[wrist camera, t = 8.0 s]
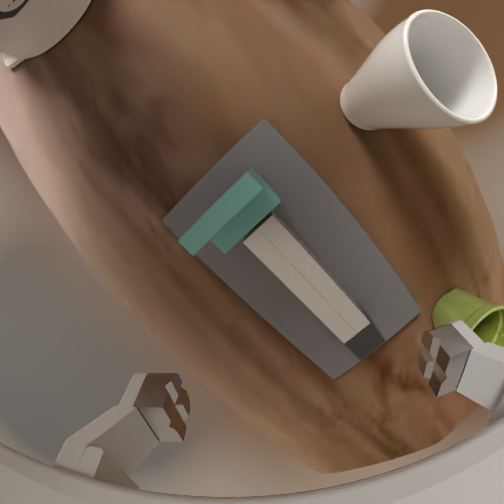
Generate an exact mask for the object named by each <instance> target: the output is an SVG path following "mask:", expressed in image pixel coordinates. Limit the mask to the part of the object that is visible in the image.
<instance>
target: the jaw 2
mask: <svg viewBox="0 0 504 504" xmlns="http://www.w3.org/2000/svg"><path fill="white" fill-rule="evenodd" d="M258 230H259V231H260V232H261V233H262V234H263V235H264V236H265V237H266V238H267V239H268V240H269V241H270V242H271V243H272V244H273V245H274V246H275V247H276V248H277V249H278V250H279V251H280V252H281V254H282V255H283V256H284V257H285V258H286V259H287V260H288V261H289V262H290V263H291V264H292V265H293V266H294V267H295V268H296V269H297V270H298V271H299V272H300V273H301V274H302V275H303V276H304V277H305V278H306V280H307V281H308V282H309V283H310V284H311V285H312V286H313V287H314V288H315V289H316V290H317V291H318V292H319V293H320V294H321V295H322V296H323V297H324V298H325V300H326V301H327V302H328V303H329V304H330V305H331V306H332V307H333V308H334V309H335V310H336V311H337V312H338V313H339V314H340V315H341V317H342V318H343V319H344V320H345V321H346V322H347V323H348V324H349V325H350V326H351V327H352V328H353V329H354V330H355V332H356V333H357V334H358V335H359V336H360V337H361V338H362V339H363V340H364V341H365V342H366V344H367V345H368V346H369V347H370V348H371V349H372V350H375V349H376V348H377V347H379V346H380V345H381V344H382V343H384V342H385V339H384V338H383V336H382V334H381V333H380V331H379V330H378V328H377V326H376V325H375V323H374V322H373V320H372V319H371V318H370V317H369V315H368V314H367V313H366V312H365V311H364V309H363V308H362V307H361V306H360V305H359V304H358V303H357V301H356V300H355V299H354V298H353V297H352V296H351V295H350V293H349V292H348V291H347V290H346V289H345V288H344V287H343V285H342V284H341V283H340V282H339V281H338V280H337V279H336V277H335V276H334V275H333V274H332V273H331V272H330V271H329V270H328V268H327V267H326V266H325V265H324V264H323V263H322V262H321V261H320V260H319V258H318V257H317V256H316V255H315V254H314V253H313V252H312V251H311V250H310V249H309V247H308V246H307V245H306V244H305V243H304V242H303V241H302V240H301V239H300V238H299V237H298V236H297V234H296V233H295V232H294V231H293V230H292V229H291V228H290V227H289V226H288V225H287V224H286V223H285V222H284V221H283V220H282V218H281V217H280V216H279V215H278V214H277V213H276V212H275V211H274V210H272V211H270V212H269V213H268V214H267V215H266V216H265V217H264V218H263V219H262V220H261V221H260V222H259V223H258Z"/></svg>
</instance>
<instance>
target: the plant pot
mask: <svg viewBox="0 0 504 504" xmlns="http://www.w3.org/2000/svg"><path fill="white" fill-rule="evenodd" d="M432 320H433V326H434V328H437V327H440V326H443V325H446V324H448V323H450V322H453V321H456V320H462V321H463V322H464V323H465V324H466V325H467V326H468V327H469V328H470V329H471V330H472V331H473V332H474V333H475V334H476V335H477V336H478V337H479V338H480V339H481V340H482V341H483V342H484V343H487V342H489V343H492V344H496V345H499V346H502V347H504V305H496V304H490V303H488V302H486V301H484V300H482V299H480V298H478V297H476V296H474V295H472V294H470V293H468V292H466V291H464V290H462V289H458V288H456V289H453V290H452V291H450V292H449V293H446V294H444V295H443V296H442V297H441V298H440V299H439V301H438V302H437V304H436V306H435V308H434V310H433V313H432Z"/></svg>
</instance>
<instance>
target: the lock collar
mask: <svg viewBox="0 0 504 504" xmlns="http://www.w3.org/2000/svg"><path fill="white" fill-rule="evenodd" d="M280 202H281V201H280V198H279V196H278V194H277V193H276V192H275V191H274V190H273V188H272V187H271V186H270V185H269V184H268V183H267V182H266V181H265V180H264V179H263V178H262V177H261V176H260V175H259V174H258V173H257V172H256V171H255V170H254V169H253V168H252V169H250V170H249V171H247V172H246V173H245V174H244V175H243V176H242V177H241V178H240V179H239V180H238V181H237V182H236V183H235V184H234V185H233V186H232V187H231V188H230V189H229V190H228V191H227V192H226V193H225V194H224V195H223V196H221V197H220V198H219V199H218V200H217V201H216V202H215V203H214V204H213V205H212V206H211V207H210V208H209V209H208V210H207V211H206V212H205V214H204V215H203V216H202V217H201V218H200V219H199V220H198V221H197V222H196V223H195V224H194V225H193V226H192V227H191V228H190V229H189V230H188V231H187V232H186V233H185V234H184V235H183V236H182V237H181V238H180V239H179V240H178V242H179V243H180V244H181V245H182V246H183V247H184V248H185V249H186V250H187V251H188V252H189V253H190V254H191V255H192V256H194V255H195V254H196V253H197V252H198V251H199V250H200V249H201V248H202V247H203V246H204V245H205V244H206V243H207V242H208V241H209V240H211V241H212V242H213V243H214V244H215V245H216V246H217V247H218V248H219V249H220V250H221V251H222V252H223V253H224V254H225V253H227V252H228V251H229V250H230V249H231V248H232V247H233V246H234V245H235V244H236V243H237V242H238V241H239V240H240V239H241V238H243V237H244V236H245V235H246V234H247V233H248V232H249V231H250V230H251V229H252V228H253V227H254V226H255V225H256V224H258V223H259V222H260V221H261V220H262V219H263V218H264V217H265V216H266V215H267V214H268V213H269V212H270V211H272V210H273V209H274V208H275V207H276V206H277V205H278V204H279V203H280Z"/></svg>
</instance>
